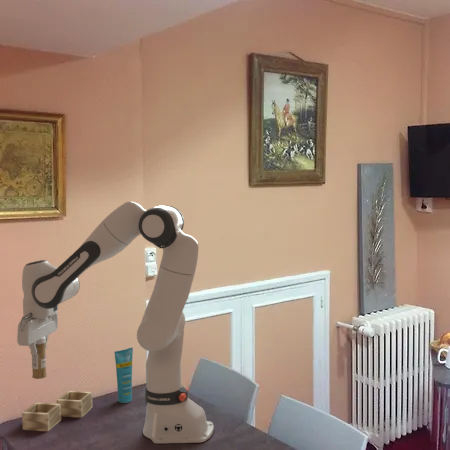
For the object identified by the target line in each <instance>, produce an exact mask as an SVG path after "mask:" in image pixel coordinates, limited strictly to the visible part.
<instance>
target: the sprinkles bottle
mask: <svg viewBox="0 0 450 450" xmlns="http://www.w3.org/2000/svg"><path fill="white" fill-rule="evenodd" d="M45 342H46V337H43V338H41V339H40V340H38V341H36V348H38V354H36V355H31V367H32V376H31V377H32V379H36V380H41V379H42V380H43V379H45V378H46V377H47V359H46V358H47V357H46V355H47V353H46V349H45Z"/></svg>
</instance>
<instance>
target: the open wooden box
mask: <svg viewBox="0 0 450 450" xmlns="http://www.w3.org/2000/svg"><path fill="white" fill-rule="evenodd" d="M56 404H61V417H64V418H66V417H67V418H81V419H82V418H83V417H85V415H86V414H87V413H89V412H90V410H92V409H93V391H81V390H80V391H75V390H68V391H66V392H65V393H64V394H63V395H60V397H59V398H57V399H56ZM91 408H92V409H91Z"/></svg>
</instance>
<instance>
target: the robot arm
mask: <svg viewBox="0 0 450 450" xmlns="http://www.w3.org/2000/svg"><path fill="white" fill-rule="evenodd" d="M184 224H185V219H184V216H183V213H182V212H181V211H180V210H179V209H178V208H176V207H174V206H171V205H158V206H153V207H150V208H148V209H147V210H146V209H144V208H143V206H142V205H140V203H137V202H135V201H126V202H124V203H123V204H121V205H120V206H118V207H117V208H116V209H114V210H113V211H112V212H110V213H109V214H108V215H107V216H106V217H105V218H104V219H103V220H102V221H101V222H100V223H99V224H98V225H97V226H96V227H95V228H94V230H93V231H92V232H91V233H90V234H89V236H88V237H87V238H86V239H85V241H83V242H82V244H81V245H80V246H78V248H77V249H76V250H75V251H74V252H73V253H72V254H71V255H69V256H68V258H66V259H65V261H63V262H62V263H61V264H60V265H59V266H58V267H57V266H55V265H53V264H52V263H50V262H49V261H48V260H44V259H43V260H42V259H40V260H37V261H31V262H28V263H26V264H25V265H24V266H23V269H22V277H21V288H22V292H23V300H22V313H23V316H22V317H21V319H20V321H19V322H18V325H17V336H16V337H17V339H16V341H17V342H16V343H17V344H18V346H24V347H29V350H30V355H31V356H32V355H36V354H38V348H36V341H38V340H40V339H41V338H43V337H46V342H45V350H46V349H48V348H47V347H48V345H47V344H48V341H49V335H51V334H53V333H55V332H56V331H57V329H58V326H59V314H58V311H59V305H60V304H63V303H64V302H66V301H69V300H70V299H72V298H73V297H75V296H76V295H77V294H78V293H79V290H80V286H81V283H80V279H79V277H80V276H81V275H82V274H84V272H85V271H86V270H88V269H90V268H91V267H93V266H94V265H97V264H98V263H101V262H103V261H106V260H108V259H111V258H113V257H115V256H116V255H118V254H119V253H121V252H122V251H124V250H125V249H126V248H127V247H128V246H129V245H130V244H131V243H132V242H133V241H134V240H135V239H136V238H137V237H139V236H140V235H141V236H142V237H143V239H145V240H146V241H147V242H149V243H151V244H152V245H154V246H155V247H157V248H158V249H162V257H161V261H160V265H159V268H158V272H157V276H156V279H155V283H154V287H153V290H152V292H151V295H150V298H149V299H148V303H147V305H146V308H145V310H144V313H143V315H142V319H141V320H140V321H141V322H140V324H139V326H138V328H137V330H136V339H137V343H138V344H139V346H140V347H141V348H143V349H144V350H145V351H148V354H147V358H146V361H145V362H146V363H145V379H146V380H145V381H146V384H145V385H146V387H145V391H144V400H145V406H146V410H145V418H144V419H145V420H144V426H143V430H142V434H143V436H145V437H146V438H148V439H149V440H151V442H153V444H189V443H190V444H192V443H197V444H198V443H203V442H206V441H207V440H209V439H210V438H211V437H212V435H213V434H214V430H215V427H214V423H213V422H212V421H209V420H207V416H206V412H205V410H204V408H203V407H202V406H200V405H199V404H197V403H196V402H195V401H193V400H192V399H190V397H189V393H188V392H189V387H186V388H185V387H184V386H183V385H182V355H183V354H182V353H183V346H184V335H185V334H184V333H185V325H186V317H185V314H184V309H185V305H186V303H187V301H188V299H189V296H190V292H191V289H192V285H193V281H194V277H195V273H196V270H197V265H198V259H199V243H198V241H197V240H196V238H194V237H193V236H192V235H189V234H186V233H184V232H183V230H184V229H183V228H184V226H185V225H184Z"/></svg>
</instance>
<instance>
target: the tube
mask: <svg viewBox="0 0 450 450" xmlns="http://www.w3.org/2000/svg"><path fill="white" fill-rule="evenodd" d="M133 351H134V347H128V348H125V349H121V350H115V351H114V353H113V354H114V360H115V361H114V362H115V371H116V383H117V384H116V385H117V387H116V388H117V401H118V403H121V404H127V403H130V402H132V401H133V353H134V352H133Z"/></svg>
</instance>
